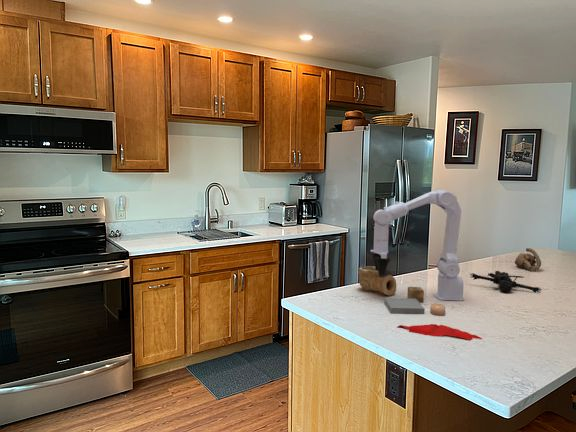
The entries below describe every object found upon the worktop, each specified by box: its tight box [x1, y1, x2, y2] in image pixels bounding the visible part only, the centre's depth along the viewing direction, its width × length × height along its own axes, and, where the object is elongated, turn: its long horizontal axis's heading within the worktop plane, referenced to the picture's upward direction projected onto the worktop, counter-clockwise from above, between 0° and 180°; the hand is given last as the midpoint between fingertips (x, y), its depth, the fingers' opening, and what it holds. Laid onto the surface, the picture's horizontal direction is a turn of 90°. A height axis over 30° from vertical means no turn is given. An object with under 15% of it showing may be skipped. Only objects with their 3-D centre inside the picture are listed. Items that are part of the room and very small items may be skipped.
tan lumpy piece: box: [514, 247, 542, 273], centre depth 229 cm, size 13×9×15 cm
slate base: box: [383, 297, 426, 315], centre depth 160 cm, size 12×12×2 cm
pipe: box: [357, 265, 397, 297], centre depth 181 cm, size 9×16×10 cm, turn 45°
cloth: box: [396, 323, 483, 342], centre depth 137 cm, size 26×14×2 cm, turn 58°
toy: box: [469, 270, 543, 294], centre depth 195 cm, size 29×7×30 cm
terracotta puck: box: [429, 303, 446, 317], centre depth 155 cm, size 5×5×3 cm
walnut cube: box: [407, 286, 425, 304], centre depth 170 cm, size 5×5×5 cm
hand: (380, 272), depth 174 cm, fingers open, 7 cm apart
